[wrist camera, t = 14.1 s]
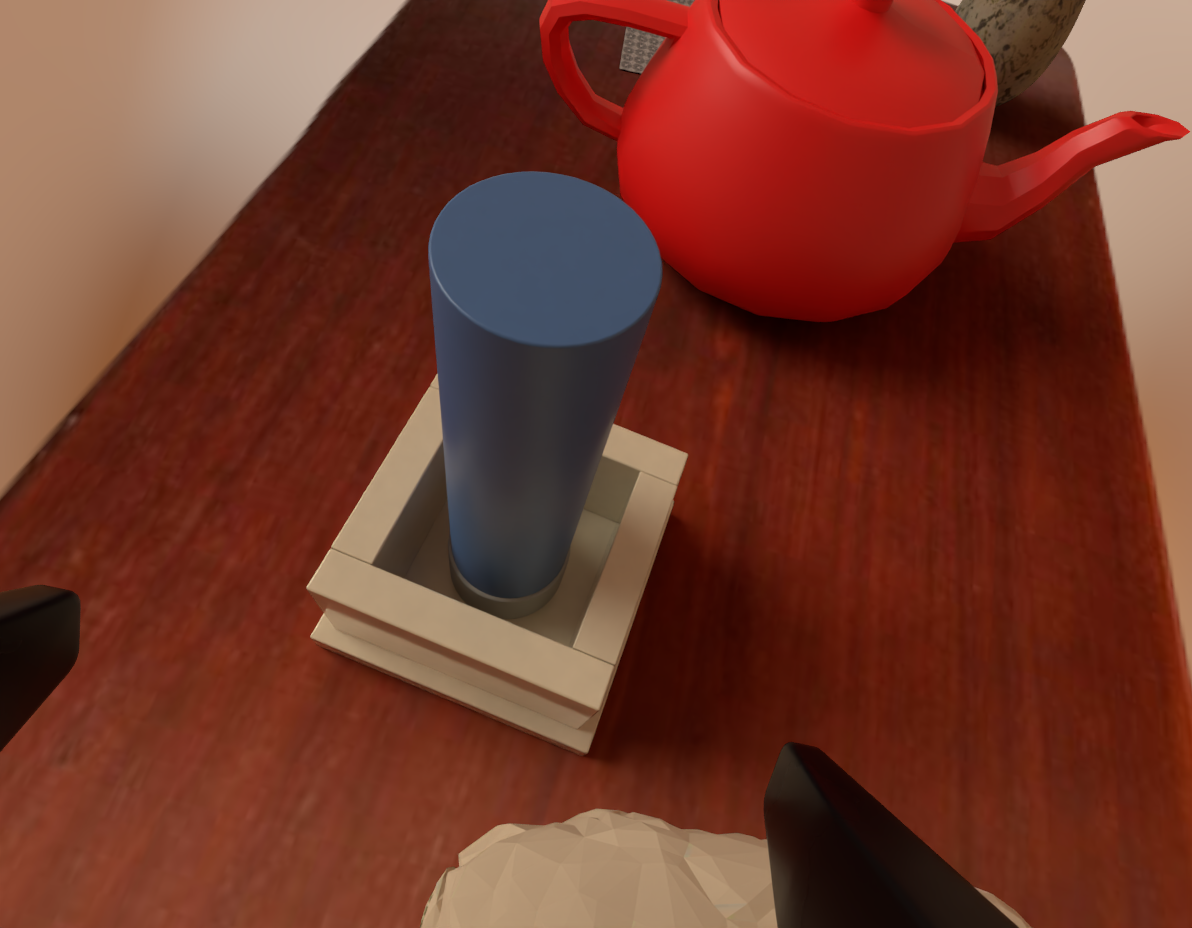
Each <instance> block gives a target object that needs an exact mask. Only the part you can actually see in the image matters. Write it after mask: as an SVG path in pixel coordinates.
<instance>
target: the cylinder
mask: <svg viewBox="0 0 1192 928" xmlns="http://www.w3.org/2000/svg"><path fill="white" fill-rule="evenodd" d="M429 269H430V282H431V294H432V307H433V320H434V333H435V345H436V358H437V371H438V384H439V396H440V409H441V422H442V434H443V447H444V460H445V473H446V485H447V498H448V511H449V524H450V533H449V539H448V554H449V565H450V574H451V578H452V582H453V585H454V587H455V589H456V591H457V593H458V594H459V596H460V597H461V598H462V599H463V601H464V602H465V603H466V604H468V605H469V606H472V607H474V608H477V609H479V610H482V611H484V612H486V613H489V614H491V615H494V616H496V617H498V618H501V619H516V618H521V617H524V616H527V615H530V614H532V613H534V612H536V611H538V610H539V609H541V608H542V607H543V606H545V605H546V604H547V603H548V602H549V601H550V600H551V599H552V597H553V596H554V595H555V593H556V592H557V590H558V588H559V586H560V583H561V581H562V578H563V575H564V572H565V570H566V567H567V564H568V561H569V557H570V548H571V543H572V540H573V537H574V534H575V531H576V528H577V525H578V523H579V520H580V517H581V514H582V511H583V508H584V505H585V503H586V500H587V497H588V494H589V491H590V488H591V485H592V483H593V480H594V477H595V474H596V471H597V468H598V465H599V463H600V460H601V457H602V454H603V451H604V448H605V445H606V443H607V440H608V437H609V434H610V431H611V428H612V425H613V423H614V420H615V417H616V414H617V411H618V408H619V405H620V403H621V400H622V397H623V394H624V391H625V388H626V385H627V383H628V380H629V377H630V374H631V371H632V368H633V365H634V363H635V360H636V357H637V354H638V351H639V348H640V345H641V343H642V340H643V337H644V334H645V331H646V328H647V325H648V323H649V320H650V317H651V314H652V311H653V308H654V305H655V303H656V300H657V297H658V294H659V291H660V288H661V282H662V261H661V256H660V251H659V248H658V246H657V243H656V240H655V238H654V236H653V235H652V233H651V231H650V229H649V228H648V226H647V225H646V224H645V222H644V221H643V220H642V219H641V217H640V216H639V215H638V214H637V213H636V212H635V211H634V210H633V209H632V208H631V207H629V206H628V205H627V204H626V203H625V202H623V201H622V200H621V199H619V198H618V197H616V196H615V195H613V194H612V193H610V192H608V191H606V190H604V189H603V188H601V187H598V186H596V185H594V184H592V183H589V182H587V181H584V180H581V179H578V178H574V177H570V176H566V175H562V174H555V173H549V172H516V173H508V174H503V175H499V176H494V177H491V178H488V179H485V180H482V181H480V182H478V183H476V184H474V185H471V186H469V187H468V188H466V189H465V190H463V191H462V192H460V193H459V194H457V195H456V196H455V197H454V198H453V199H452V200H451V201H449V202H448V204H447V205H446V206H445V207H444V208H443V210H442V211H441V212H440V214H439V216H438V217H437V219H436V221H435V223H434V226H433V228H432V231H431V234H430V239H429Z"/></svg>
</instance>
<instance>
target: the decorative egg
mask: <svg viewBox="0 0 1192 928" xmlns="http://www.w3.org/2000/svg"><path fill="white" fill-rule="evenodd" d="M1084 3H1085V0H962V2H961V3H960V5H959V6H958V8H957V9H956V11H955V12H956V13H957V14H958V15H959V17H960V18H961V19H962V20H963V21H964V22H965V23H966V24H967V25H968V26H969V27H970V28H971V29H972V30H973V31H974V32H975V33H976V34H977V35H978V36H979V37H980V38H981V40H982V42H983V43H984V45H985V46H986V48H987V50H988V51H989V53H990V55H991V56H992V58H993V60H994V65H995V70H996V74H997V85H998V94H997V99H996V104H995V107H996V106H999V105H1001V104H1004V103H1006V102H1008V101H1010V100H1011V99H1013V98H1015V97H1016V96H1018V95H1019V94H1021V93H1022V92H1023V91H1025V90H1026V89H1027V88H1028V87H1029V86H1031V85H1032V84H1033V83H1034V82H1035V81H1036V80H1037V79H1038V78H1039V77H1040V76H1041V75H1042V73H1043V72H1044V71H1045V70H1046V69H1047V67H1048V66H1049V65H1050V64H1051V62H1052V61H1053V59H1054V58H1055V57H1056V55H1057V54H1058V52H1059V50H1060V49H1061V47H1062V46H1063V44H1064V42H1065V41H1066V39H1067V37H1068V36H1069V34H1070V32H1071V30H1072V28H1073V26H1074V24H1075V22H1076V20H1077V18H1078V16H1079V14H1080V12H1081V9H1082V7H1083V5H1084Z"/></svg>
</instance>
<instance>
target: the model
mask: <svg viewBox="0 0 1192 928" xmlns="http://www.w3.org/2000/svg"><path fill="white" fill-rule="evenodd" d="M458 855H459V867H458V868H456V869H455V867H450V868H447V869H446V870H445V872H444V873H443V875H442V876H441V878H440V879H439V881H438V882H437V884H436V887H435V889H434V892H432V894H431V896H430V898H429V900H428V903H427V905H426V907H425V911H424V914H423V917H422V921H421V925H420V928H778V927H777V920H776V913H775V905H774V896H773V888H772V879H771V870H770V862H769V853H768V845H767V839H765V840H759V839H757V838H755V837H753V836H749V835H744V834H740V833H730V834H719V835H716V834H712V833H709V832H705V831H702V830H694V829H679V828H677V827H675V826H673V825H671V824H668V823H667V822H665V821H663V820H662V819H659V818H655V817H651V816H647V815H643V814H639V813H634V812H632V813H629V814H628V813H625V812H623V811H620V810H606V809H595V810H591V811H588V812H585V813H581V814H579V815H577V816H575V817H573V818H571V819H569V820H567V821H565V822H563V823H557V822H556V823H552V824H549V825H545V826H541V825H525V824H504V825H498V826H496V827H494V828H493V829H492V830H490V831H489V832H488V833H486V834H485V835H484V836H482V837H481V838H479V839H478V840H477V841H475V842H474V843H473V844H471V845H470V846H469V847H467V848H466V849H464V850H463V851H462V852H460V853H459V854H458ZM974 888H976V887H974ZM976 889H977V890H978V891H979V892H980V893H981V894H982V895H983V896H985V897H986V898H987V899H988V900H989V901H990V902H991V903H992V904H993V905H995V906H996V907H997V908H998V909H999V910H1000V911H1001V912H1002V913H1004V914H1005V915H1006V916H1007V917H1008V918H1009V919H1010V920H1011V921H1012V922H1014V923H1015V924H1016V925H1017V926H1018V927H1019V928H1032V927H1031V926H1030V925H1029V924H1028V923H1027V922H1026V921H1025V920H1024V919H1023V918H1022V917H1021V916H1020V915H1019V914H1018V913H1017V912H1016V911H1015V910H1014V909H1012V908H1011V907H1010V906H1008V905H1007V904H1006V903H1004V902H1003V901H1001V900H1000V899H999V898H997V897H996V896H994V895H993V894H991V893H988V892H986V891H983V890H981V889H978V888H976Z"/></svg>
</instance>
